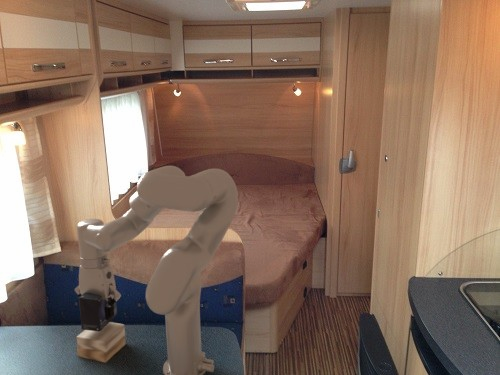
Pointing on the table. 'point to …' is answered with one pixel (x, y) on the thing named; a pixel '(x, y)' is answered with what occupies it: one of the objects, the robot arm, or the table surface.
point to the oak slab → (101, 355)
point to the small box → (94, 312)
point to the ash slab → (101, 337)
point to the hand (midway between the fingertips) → (99, 315)
